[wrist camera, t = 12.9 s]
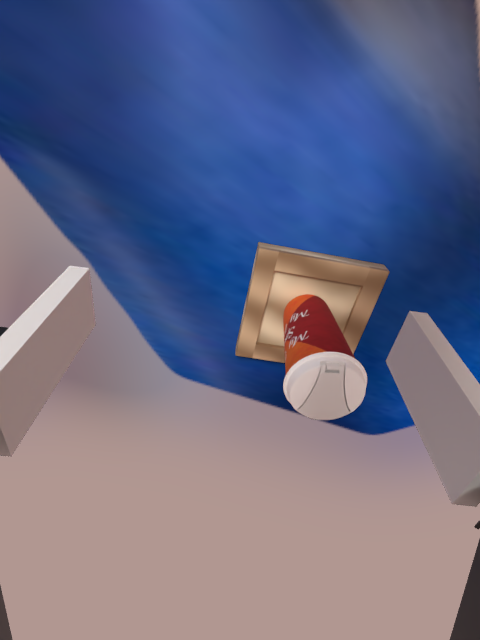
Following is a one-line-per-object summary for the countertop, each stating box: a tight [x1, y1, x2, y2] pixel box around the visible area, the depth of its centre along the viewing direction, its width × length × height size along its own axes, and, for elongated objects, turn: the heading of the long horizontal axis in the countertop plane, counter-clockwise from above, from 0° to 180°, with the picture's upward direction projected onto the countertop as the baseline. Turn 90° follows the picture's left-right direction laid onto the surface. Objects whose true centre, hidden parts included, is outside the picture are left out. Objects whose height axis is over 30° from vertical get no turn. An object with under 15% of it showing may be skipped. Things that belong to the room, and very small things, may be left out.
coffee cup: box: [283, 294, 367, 420], centre depth 41 cm, size 8×8×15 cm
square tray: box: [236, 242, 389, 363], centre depth 48 cm, size 16×16×2 cm
